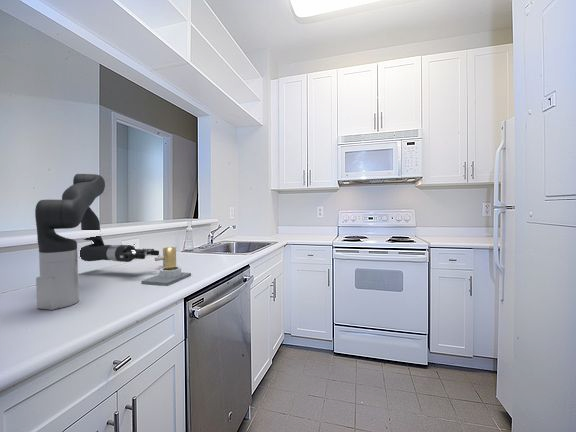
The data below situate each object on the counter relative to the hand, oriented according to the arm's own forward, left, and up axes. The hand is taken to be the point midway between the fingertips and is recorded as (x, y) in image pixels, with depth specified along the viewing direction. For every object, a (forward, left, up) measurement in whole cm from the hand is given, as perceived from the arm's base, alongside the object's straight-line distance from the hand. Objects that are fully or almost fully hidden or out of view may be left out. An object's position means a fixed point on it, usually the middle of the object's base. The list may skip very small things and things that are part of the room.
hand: (151, 254), depth 118 cm
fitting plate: (-2, -9, -10) cm, 14 cm away
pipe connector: (+17, +7, -10) cm, 21 cm away
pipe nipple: (0, -9, -9) cm, 13 cm away
